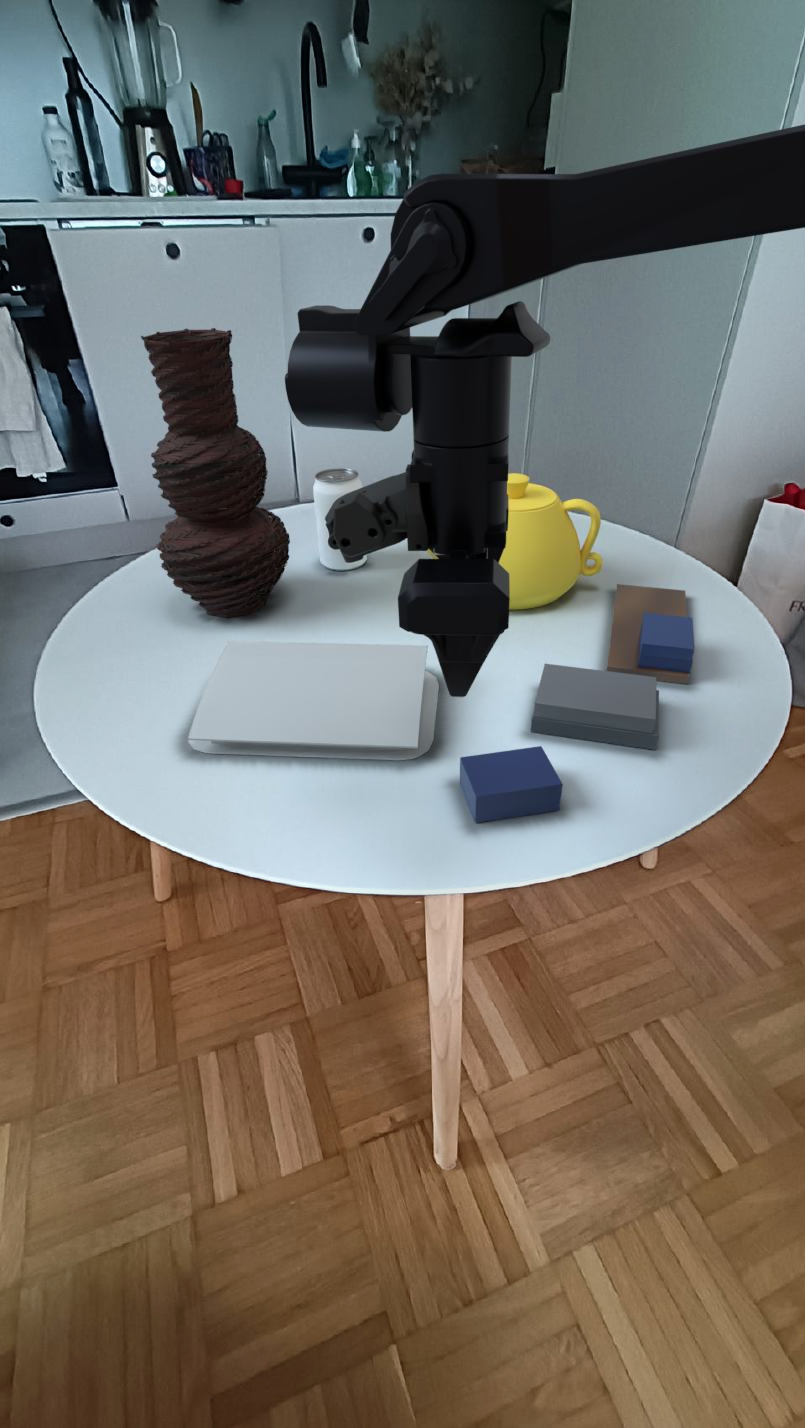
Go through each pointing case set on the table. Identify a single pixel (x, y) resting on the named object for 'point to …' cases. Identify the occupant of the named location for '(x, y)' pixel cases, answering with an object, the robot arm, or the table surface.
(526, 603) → the teapot
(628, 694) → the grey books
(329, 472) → the can
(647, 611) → the board
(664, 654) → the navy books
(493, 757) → the navy block
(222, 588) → the vase
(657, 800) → the table surface
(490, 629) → the robot arm
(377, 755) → the book
